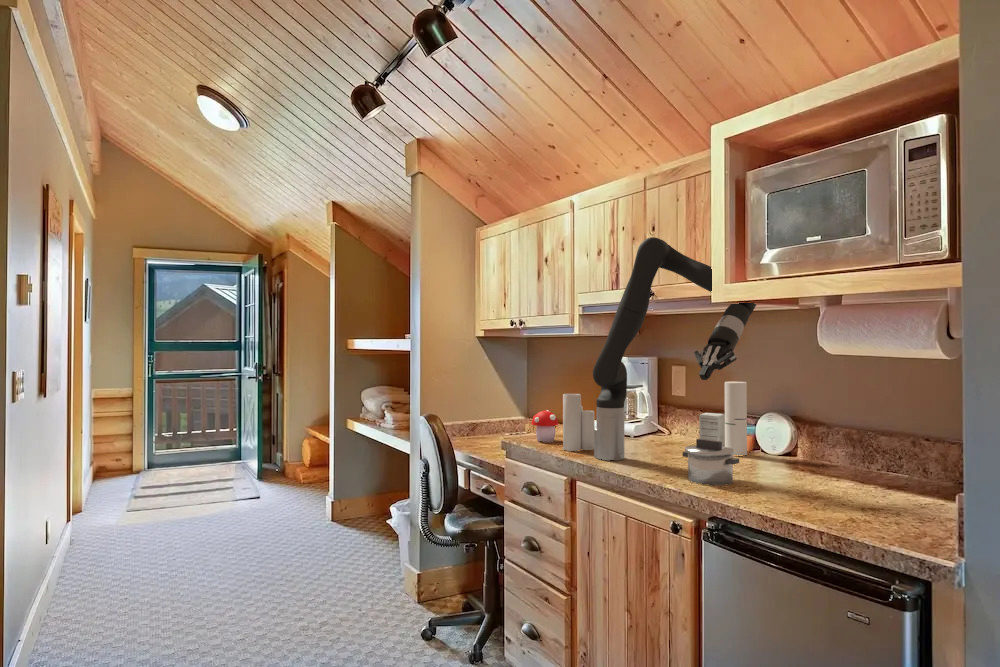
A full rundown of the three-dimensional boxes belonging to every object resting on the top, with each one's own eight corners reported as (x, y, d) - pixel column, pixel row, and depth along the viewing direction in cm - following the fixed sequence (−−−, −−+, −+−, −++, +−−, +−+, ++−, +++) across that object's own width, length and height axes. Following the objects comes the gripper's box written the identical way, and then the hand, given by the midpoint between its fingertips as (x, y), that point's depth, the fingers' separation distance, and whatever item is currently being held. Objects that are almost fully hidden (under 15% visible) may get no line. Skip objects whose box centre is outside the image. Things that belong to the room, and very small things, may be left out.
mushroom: (550, 443, 246) (550, 412, 246) (525, 441, 252) (525, 410, 252) (563, 440, 255) (563, 409, 255) (539, 437, 261) (539, 408, 261)
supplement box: (705, 446, 240) (705, 412, 240) (725, 448, 236) (725, 413, 236) (698, 449, 234) (698, 414, 234) (719, 451, 230) (719, 415, 230)
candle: (567, 452, 228) (567, 395, 229) (559, 448, 235) (559, 393, 235) (596, 450, 232) (596, 394, 232) (588, 447, 239) (588, 393, 239)
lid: (675, 452, 183) (675, 440, 183) (701, 446, 191) (701, 435, 191) (717, 458, 173) (717, 445, 173) (742, 452, 181) (742, 440, 181)
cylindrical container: (748, 456, 218) (748, 383, 219) (726, 456, 220) (726, 382, 220) (745, 453, 225) (744, 381, 226) (723, 452, 227) (723, 381, 227)
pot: (673, 478, 185) (673, 450, 185) (700, 472, 194) (699, 445, 194) (725, 488, 172) (724, 458, 173) (750, 481, 181) (750, 452, 181)
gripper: (701, 325, 191) (677, 367, 183) (743, 325, 181) (719, 370, 173) (710, 343, 195) (687, 385, 187) (752, 343, 185) (729, 388, 177)
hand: (703, 378), depth 180 cm, fingers closed
